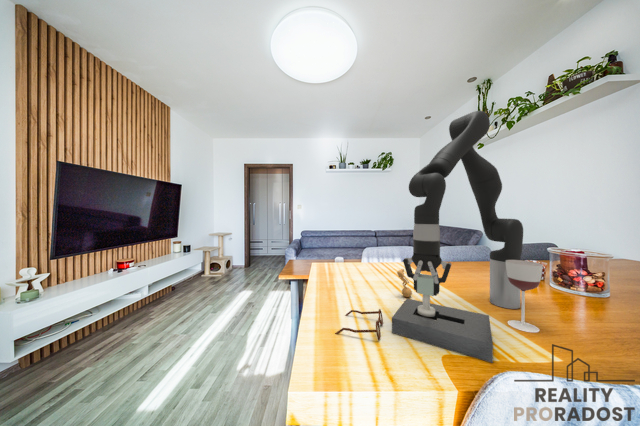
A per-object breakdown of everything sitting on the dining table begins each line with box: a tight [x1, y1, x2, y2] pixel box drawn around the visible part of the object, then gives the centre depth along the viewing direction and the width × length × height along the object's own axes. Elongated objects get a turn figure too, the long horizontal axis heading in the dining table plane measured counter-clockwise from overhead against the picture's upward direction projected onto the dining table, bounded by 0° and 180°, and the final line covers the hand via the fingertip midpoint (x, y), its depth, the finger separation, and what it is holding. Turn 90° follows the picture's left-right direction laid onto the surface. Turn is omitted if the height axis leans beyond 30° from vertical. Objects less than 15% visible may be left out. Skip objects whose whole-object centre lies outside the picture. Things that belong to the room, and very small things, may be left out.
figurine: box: [396, 268, 413, 298], centre depth 95 cm, size 8×6×12 cm
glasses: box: [334, 308, 384, 341], centre depth 71 cm, size 13×13×5 cm
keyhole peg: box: [416, 273, 435, 318], centre depth 70 cm, size 5×5×12 cm
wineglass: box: [506, 259, 543, 333], centre depth 71 cm, size 8×9×20 cm
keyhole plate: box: [391, 298, 494, 364], centre depth 68 cm, size 24×18×4 cm
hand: (426, 292), depth 70 cm, fingers closed on keyhole peg, 4 cm apart
